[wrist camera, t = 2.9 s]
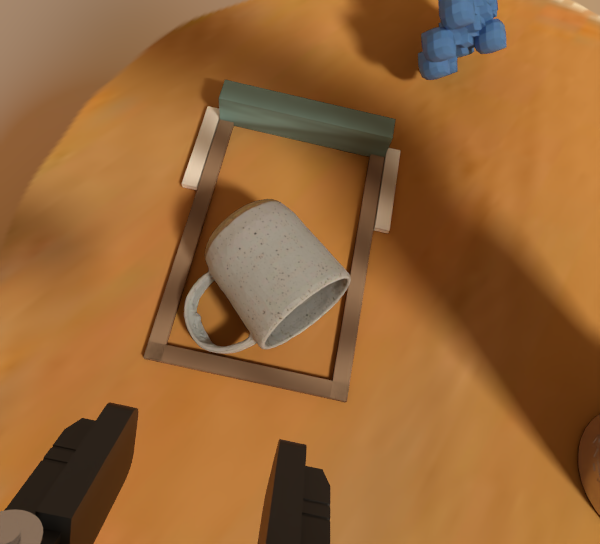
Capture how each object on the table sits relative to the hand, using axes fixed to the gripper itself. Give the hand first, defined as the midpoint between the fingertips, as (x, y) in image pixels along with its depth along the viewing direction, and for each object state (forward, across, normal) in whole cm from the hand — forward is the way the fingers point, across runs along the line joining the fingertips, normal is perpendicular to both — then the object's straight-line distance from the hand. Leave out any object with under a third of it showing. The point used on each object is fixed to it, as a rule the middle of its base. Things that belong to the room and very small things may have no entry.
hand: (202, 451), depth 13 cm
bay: (+28, 0, +3) cm, 28 cm away
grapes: (+43, -12, -11) cm, 46 cm away
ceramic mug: (+24, 0, +7) cm, 25 cm away
